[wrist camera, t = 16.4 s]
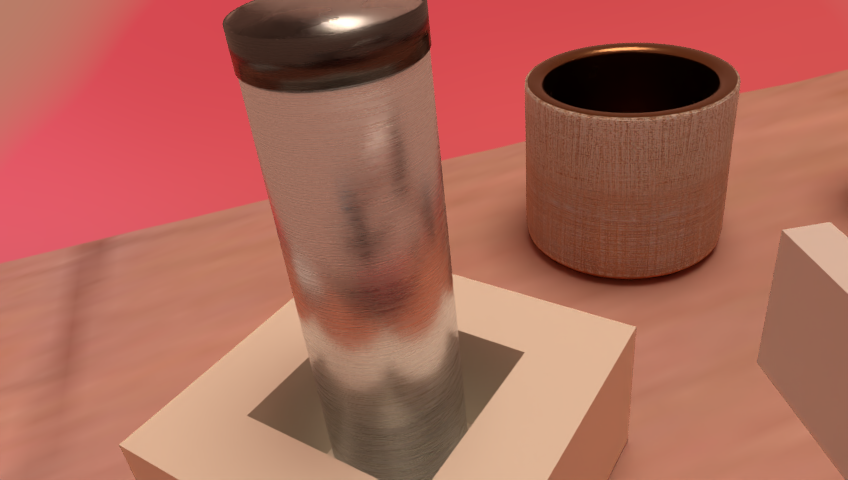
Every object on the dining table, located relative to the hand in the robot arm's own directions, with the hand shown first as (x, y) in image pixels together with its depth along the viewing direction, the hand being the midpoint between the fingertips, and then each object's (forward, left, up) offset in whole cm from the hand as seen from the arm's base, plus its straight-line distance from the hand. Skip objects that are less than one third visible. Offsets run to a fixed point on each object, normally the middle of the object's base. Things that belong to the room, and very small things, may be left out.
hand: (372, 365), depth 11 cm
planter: (+6, -29, -16) cm, 34 cm away
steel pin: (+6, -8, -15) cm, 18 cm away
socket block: (+7, -8, -16) cm, 19 cm away
